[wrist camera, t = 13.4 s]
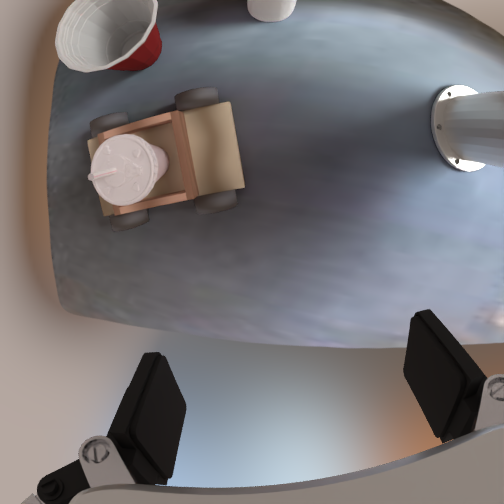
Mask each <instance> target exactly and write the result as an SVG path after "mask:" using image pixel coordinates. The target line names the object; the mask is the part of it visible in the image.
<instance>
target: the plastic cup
mask: <svg viewBox="0 0 504 504" xmlns="http://www.w3.org/2000/svg"><path fill="white" fill-rule="evenodd" d="M157 7H158V2H157V0H75V1H74V2H73V3H72V4H71V5H70V6H69V7H68V9H67V11H66V12H65V14H64V16H63V17H62V19H61V21H60V23H59V25H58V29H57V34H56V39H55V45H56V49H57V53H58V57H59V59H60V60H61V61H62V62H63V63H64V64H65V65H66V66H67V67H68V68H69V69H73V70H78V71H82V72H86V73H87V72H93V71H98V70H103V69H112V70H122V71H125V70H128V71H137V70H143V69H145V68H147V67H149V66H151V65H152V64H153V63H154V62H155V61H156V60H157V59H158V57H159V55H160V53H161V48H162V41H161V39H160V34H159V31H158V28H157V25H156V14H157Z"/></svg>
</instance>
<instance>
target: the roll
mask: <svg viewBox="0 0 504 504" xmlns="http://www.w3.org/2000/svg"><path fill="white" fill-rule="evenodd" d="M296 1H297V0H247V7H248V11H249V13H250V14H251V15H252V16H253V17H254V18H256V19H258V20H260V21H264V22H277V21H281V20H284V19H286V18H287V17H288V16H290V15H291V13H292V12H293V10H294V7H295V4H296Z"/></svg>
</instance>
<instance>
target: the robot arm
mask: <svg viewBox="0 0 504 504" xmlns="http://www.w3.org/2000/svg"><path fill="white" fill-rule="evenodd" d="M431 128H432V133H433V138H434V141H435V143H436V146H437V148H438V150H439V152H440V154H441V155H442V156H443V158H444V159H445V160H446V161H447V162H448V163H449V164H450V165H451V166H453V167H455V168H456V169H459V170H462V171H467V172H472V171H476V170H479V169H481V168H482V167H484V165H485V164H487V165H491V166H496V167H501V168H504V91H497V92H486V93H477V92H476V91H474V90H473V89H471V88H469V87H467V86H463V85H453V86H449V87H447V88H445V89H443V90H442V91H441V92H440V93H439V94H438V96H437V97H436V99H435V101H434V104H433V107H432V112H431ZM403 372H404V376H405V378H406V380H407V382H408V384H409V386H410V388H411V390H412V391H413V393H414V395H415V397H416V399H417V401H418V403H419V405H420V407H421V409H422V411H423V413H424V415H425V417H426V419H427V421H428V423H429V425H430V427H431V428H432V431H433V433H434V435H435V436H436V437H437V438H439V437H440V439H441V441H442V443H444V444H442V445H440V446H437V447H434V448H431V449H429V450H426V451H423V452H420V453H418V454H415V455H412V456H409V457H406V458H403V459H400V460H396V461H393V462H390V463H386V464H383V465H379V466H376V467H372V468H368V469H364V470H360V471H356V472H352V473H347V474H343V475H338V476H333V477H328V478H322V479H317V480H310V481H303V482H296V483H288V484H279V485H269V486H257V487H256V486H255V487H235V488H198V487H197V488H196V487H172V486H159V485H167V480H168V478H171V477H172V475H173V470H174V465H175V461H176V456H177V451H178V446H179V441H180V437H181V432H182V427H183V423H184V418H185V414H186V403H185V400H184V398H183V396H182V394H181V392H180V389H179V387H178V385H177V383H176V380H175V378H174V376H173V373H172V371H171V369H170V366H169V364H168V361H167V359H166V357H165V356H162V355H161V354H160V353H159V352H152V353H144V355H143V356H142V359H141V361H140V363H139V365H138V367H137V370H136V372H135V374H134V376H133V379H132V381H131V383H130V385H129V387H128V388H127V390H126V392H125V394H124V396H123V399H122V401H121V403H120V405H119V408H118V410H117V413H116V415H115V417H114V419H113V422H112V424H111V427H110V429H109V431H108V434H107V436H106V437H105V436H94V437H91V438H89V439H87V440H86V441H85V442H84V443H83V444H82V445H81V447H80V449H79V453H78V454H79V459H78V460H76V461H74V462H72V463H70V464H68V465H67V466H65V467H62V468H61V469H58V470H56V471H55V472H52V473H50V474H48V475H46V476H45V477H44V478H42V479H41V480H40V482H39V484H38V486H37V495H36V496H35V495H34V494H31V495H30V496H29V497H28V498H27V499H26V500H24V501H23V502H22V503H21V504H504V375H503V374H496V375H492V376H491V377H489V378H487V377H486V376H485V375H484V373H483V372H482V371H481V369H480V368H479V367H478V366H477V364H476V363H475V362H474V361H473V359H472V358H471V357H470V356H469V354H468V353H467V352H466V351H465V349H464V348H463V347H462V346H461V345H460V343H459V342H458V341H457V340H456V339H455V337H454V336H453V335H452V334H451V333H450V332H449V330H448V329H447V328H446V327H445V326H444V325H443V323H442V322H441V321H440V320H439V319H438V318H437V317H436V316H435V314H434V313H433V312H432V311H431V310H430V309H427V310H423V311H419V312H416V313H415V315H414V317H412V318H411V321H410V329H409V337H408V344H407V350H406V356H405V363H404V368H403ZM452 439H454V440H452ZM449 440H452V441H449ZM447 441H449V442H447ZM445 442H447V443H445ZM155 484H159V485H155Z"/></svg>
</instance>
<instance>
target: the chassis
mask: <svg viewBox="0 0 504 504" xmlns="http://www.w3.org/2000/svg"><path fill="white" fill-rule="evenodd" d="M175 103H176V109H177V110H176V111H172V112H168V113H164V114H161V115H157V116H153V117H150V118H146V119H143V120H140V121H136V122H133V123H130V124H129V120H128V114H127V113H126V112H119V113H113V114H108V115H105V116H102V117H99V118H96V119H94V120H92V121H91V122H90V129H91V135H92V138H93V139H90V140H87V142H88V147H89V153H90V158H91V163H92V159H93V156H94V154H95V152H96V150H97V149H98V148H99V146H100V145H101V144H102V143H103V142H104V141H106V140H107V139H109V138H111V137H113V136H116V135H122V134H131V135H136V136H138V137H141V138H142V139H144V140H145V141H146V142H147V143H149V144H152V145H154V146H157V147H160V148H162V149H164V150H165V151H166V152H167V154H168V156H169V160H170V164H169V168H168V170H167V172H166V173H165V174H164V175H163V176H162V177H161V178H160V179H159V180H158V181H157V182H155V184H154V187H153V189H152V190H151V191H150V193H149V194H148V195H147V196H146V197H145V198H143V199H142V200H141V201H138V202H136V203H134V204H131V205H126V206H118V205H114V204H111V203H109V202H107V201H106V200H104V199H103V198H102V197H101V196H100V195H99V194H98V195H99V199H100V203H101V207H102V211H103V215H104V216H108V215H110V216H109V218H110V222H111V225H112V229H113V231H115V232H117V231H124V230H128V229H131V228H135V227H137V226H140V225H143V224H145V223H147V222H148V221H149V216H148V212H147V208H152V207H156V206H161V205H166V204H171V203H175V202H180V201H185V200H191V199H194V203H195V207H196V212H197V214H211V213H217V212H221V211H225V210H229V209H231V208H234V207H236V206H237V205H238V203H237V197H236V192H235V189H240V188H245V181H244V175H243V169H242V164H241V158H240V152H239V147H238V141H237V136H236V130H235V124H234V119H233V113H232V107H231V103H230V102H224V103H219V98H218V92H217V88H215V87H203V88H196V89H191V90H188V91H184V92H181V93H179V94H177V95H176V96H175Z"/></svg>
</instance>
